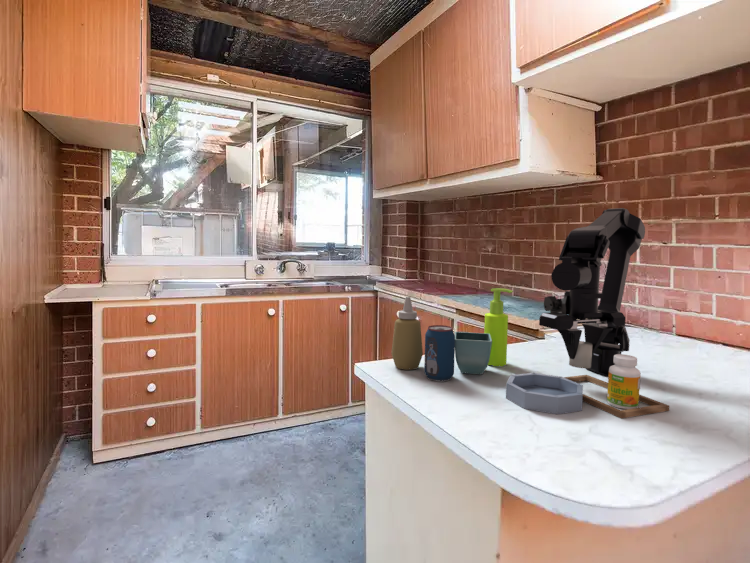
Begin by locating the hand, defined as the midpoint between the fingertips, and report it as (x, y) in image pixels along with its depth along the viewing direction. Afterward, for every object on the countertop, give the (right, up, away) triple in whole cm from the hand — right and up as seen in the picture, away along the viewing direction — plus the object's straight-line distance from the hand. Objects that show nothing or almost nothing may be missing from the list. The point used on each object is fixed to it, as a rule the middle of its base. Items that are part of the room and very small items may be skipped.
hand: (580, 357), depth 93 cm
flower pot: (-21, -6, +11) cm, 25 cm away
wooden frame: (+2, -7, -5) cm, 9 cm away
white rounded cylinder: (0, -2, 0) cm, 2 cm away
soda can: (-30, -6, +6) cm, 32 cm away
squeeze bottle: (-37, -5, +15) cm, 40 cm away
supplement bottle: (+4, -8, -10) cm, 13 cm away
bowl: (-11, -7, -7) cm, 15 cm away
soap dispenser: (-13, -5, +18) cm, 23 cm away
